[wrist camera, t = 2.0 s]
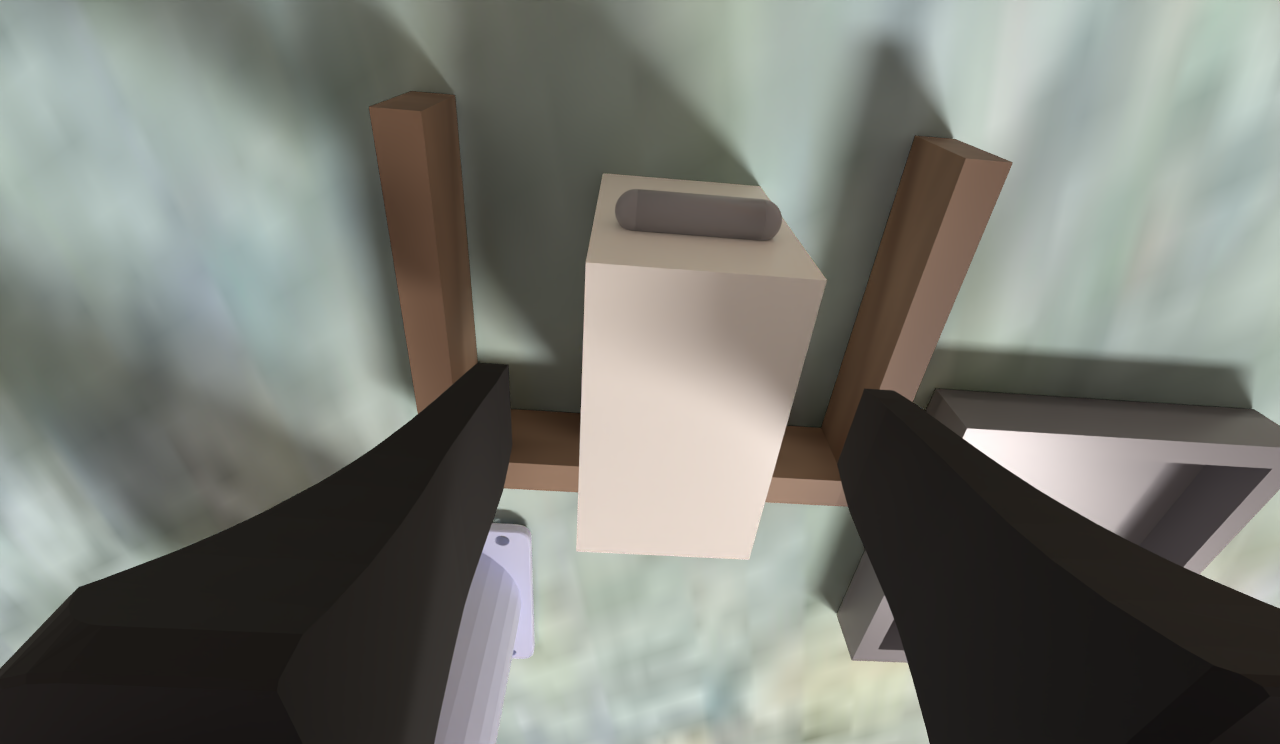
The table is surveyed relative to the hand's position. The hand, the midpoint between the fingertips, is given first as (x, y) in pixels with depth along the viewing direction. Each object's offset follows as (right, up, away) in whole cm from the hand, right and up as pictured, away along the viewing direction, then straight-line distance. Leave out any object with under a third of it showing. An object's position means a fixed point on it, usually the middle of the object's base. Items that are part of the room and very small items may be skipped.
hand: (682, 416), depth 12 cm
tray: (+13, -5, +10) cm, 17 cm away
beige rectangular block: (0, +3, +5) cm, 5 cm away
